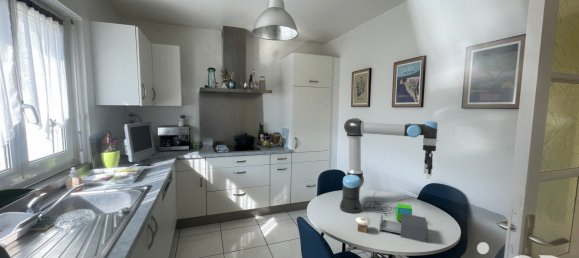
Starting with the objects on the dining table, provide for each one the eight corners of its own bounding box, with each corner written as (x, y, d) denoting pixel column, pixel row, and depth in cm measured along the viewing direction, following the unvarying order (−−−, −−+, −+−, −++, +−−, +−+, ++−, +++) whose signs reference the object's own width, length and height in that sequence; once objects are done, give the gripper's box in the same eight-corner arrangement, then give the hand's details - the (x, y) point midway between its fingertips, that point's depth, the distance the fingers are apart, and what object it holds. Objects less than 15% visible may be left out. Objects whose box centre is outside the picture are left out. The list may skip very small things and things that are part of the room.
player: (400, 237, 132) (401, 223, 131) (400, 225, 144) (401, 213, 144) (427, 242, 126) (428, 228, 125) (424, 230, 139) (425, 217, 138)
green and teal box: (409, 215, 159) (410, 201, 158) (413, 224, 146) (414, 209, 145) (393, 213, 162) (394, 199, 161) (395, 221, 149) (396, 206, 149)
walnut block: (357, 231, 138) (357, 222, 137) (358, 227, 142) (359, 219, 142) (366, 233, 136) (366, 224, 135) (367, 229, 140) (367, 221, 140)
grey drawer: (379, 230, 137) (379, 223, 137) (380, 222, 148) (381, 215, 147) (403, 235, 132) (403, 228, 132) (403, 226, 143) (403, 219, 142)
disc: (354, 223, 136) (354, 220, 136) (357, 217, 144) (357, 215, 144) (369, 226, 133) (369, 223, 133) (370, 220, 140) (370, 217, 140)
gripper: (439, 148, 142) (436, 182, 144) (433, 142, 164) (431, 172, 166) (425, 147, 145) (422, 180, 147) (421, 141, 167) (419, 170, 169)
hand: (427, 176), depth 157 cm, fingers open, 13 cm apart
